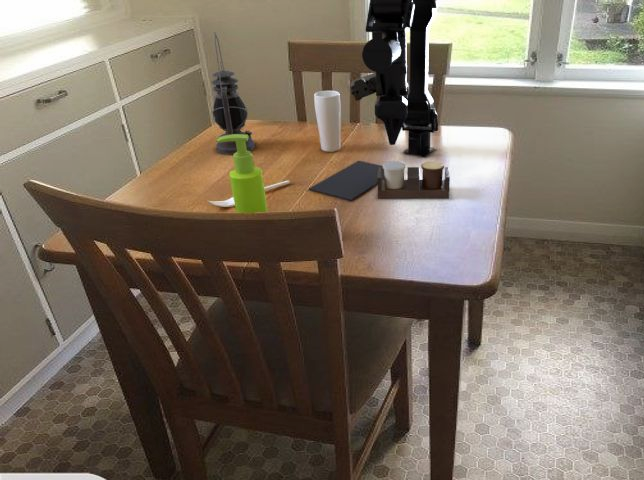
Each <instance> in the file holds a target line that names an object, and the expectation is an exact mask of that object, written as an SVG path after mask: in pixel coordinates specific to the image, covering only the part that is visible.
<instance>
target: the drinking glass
mask: <svg viewBox="0 0 644 480" xmlns="http://www.w3.org/2000/svg"><path fill="white" fill-rule="evenodd" d="M313 98H314V99H313V102H314V103H313V104H314V113H315V118H316V123H317V128H318V129H317V130H318V135H319V141H320V149H321V150H322V151H323V152H326V153H333V152H334V153H335V152H338V151H339V150H340V149H342V146H341V145H342V144H341V128H342V127H341V122H342V121H341V120H342V105H341V103H342V102H341V95H340V92H339V91H337V90H320V91H316V92H315V93H314V94H313Z"/></svg>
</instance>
